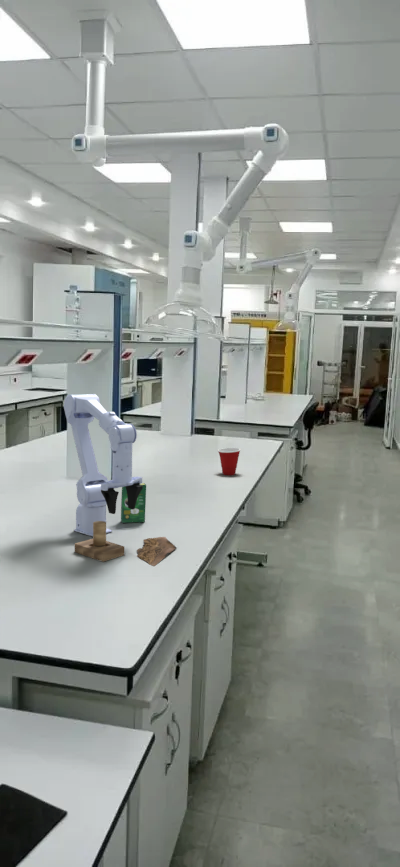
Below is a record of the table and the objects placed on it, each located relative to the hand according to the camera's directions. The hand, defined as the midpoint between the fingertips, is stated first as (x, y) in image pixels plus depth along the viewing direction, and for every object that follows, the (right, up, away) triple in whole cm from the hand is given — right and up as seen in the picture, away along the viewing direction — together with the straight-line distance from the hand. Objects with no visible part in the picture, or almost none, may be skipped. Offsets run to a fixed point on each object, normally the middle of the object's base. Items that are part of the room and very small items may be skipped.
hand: (121, 510), depth 191 cm
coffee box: (+1, -7, +27) cm, 28 cm away
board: (-6, -11, -7) cm, 14 cm away
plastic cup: (+36, +4, +111) cm, 117 cm away
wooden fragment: (+10, -12, -3) cm, 16 cm away
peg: (-5, -11, -7) cm, 14 cm away
